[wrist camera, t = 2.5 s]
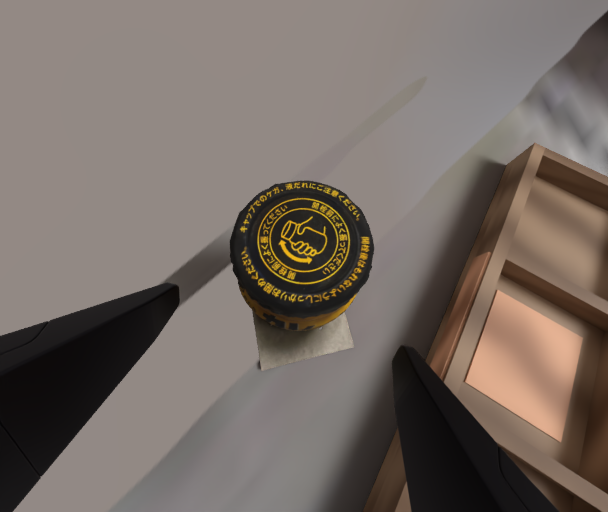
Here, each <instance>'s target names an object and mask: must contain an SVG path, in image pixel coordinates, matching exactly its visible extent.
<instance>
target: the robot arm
mask: <svg viewBox="0 0 608 512" xmlns="http://www.w3.org/2000/svg"><path fill="white" fill-rule="evenodd" d="M179 302H180V298H179V287H178V285H176V284H172V283H164V284H161V285H158V286H155V287H152V288H148V289H145V290H142V291H139V292H136V293H133V294H130V295H127V296H124V297H121V298H118V299H114V300H111V301H108V302H105V303H102V304H99V305H96V306H93V307H90V308H87V309H84V310H80V311H77V312H74V313H71V314H68V315H65V316H62V317H59V318H56V319H53V320H50V321H49V322H48V321H47V322H43V323H40V324H37V325H34V326H31V327H28V328H24V329H21V330H18V331H15V332H12V333H8V334H5V335H2V336H0V512H13V511H14V509H15V508H16V507H17V506H18V505H19V503H20V502H21V501H22V500H23V499H24V497H25V496H26V495H27V494H28V493H29V491H30V490H31V489H32V488H33V487H34V485H35V484H36V483H37V482H38V481H39V479H40V476H42V475H43V474H44V473H45V472H46V471H47V470H48V468H49V467H50V466H51V465H52V464H53V462H54V461H55V460H56V459H57V457H58V456H59V455H60V454H61V453H62V452H63V450H64V449H65V448H66V447H67V446H68V444H69V443H70V442H71V441H72V439H73V438H74V437H75V436H76V435H77V433H78V432H79V431H80V430H81V429H82V427H83V426H84V425H85V424H86V423H87V421H88V420H89V419H90V418H91V417H92V415H93V414H94V413H95V412H96V411H97V409H98V408H99V407H100V406H101V405H102V403H103V402H104V401H105V400H106V399H107V397H108V396H109V395H110V394H111V393H112V391H113V390H114V389H115V387H117V385H118V384H119V383H120V382H121V381H122V379H123V378H124V377H125V376H126V374H127V373H128V372H129V371H130V370H131V368H132V367H133V366H134V365H135V364H136V362H137V361H138V360H139V359H140V358H141V357H142V355H143V354H144V353H145V352H146V350H147V349H148V348H149V347H150V346H151V345H152V343H153V342H154V341H155V339H156V338H157V337H158V335H159V334H160V332H161V331H162V329H163V328H164V326H165V325H166V323H167V322H168V320H169V319H170V318H171V316H172V315H173V313H174V312H175V310H176V309H177V307H178V305H179ZM392 373H393V391H394V405H395V413H396V419H397V425H398V431H399V438H400V444H401V450H402V456H403V463H404V469H405V475H406V481H407V488H408V494H409V500H410V506H411V512H560V511H559V510H558V509H557V508H556V507H555V506H554V505H553V504H552V503H551V502H550V501H549V500H548V499H547V497H546V496H545V495H544V494H543V493H542V492H541V491H540V490H539V489H538V488H537V487H536V486H535V485H534V484H533V483H532V482H531V480H530V479H529V478H528V477H527V476H526V475H525V474H524V473H523V472H522V470H521V469H520V468H519V467H518V466H517V465H516V464H515V463H514V462H513V460H512V459H511V458H510V457H509V456H508V455H507V454H506V452H505V451H504V450H503V449H502V448H501V447H500V446H498V444H497V442H496V441H495V440H494V439H493V438H492V437H491V436H490V434H489V433H488V432H487V431H486V430H485V429H484V428H483V426H482V425H481V424H480V423H479V422H478V421H477V420H476V418H475V417H474V416H473V415H472V414H471V413H470V412H469V410H468V409H467V408H466V407H465V406H464V405H463V404H462V403H461V401H460V400H459V399H458V398H457V397H456V396H455V395H454V393H453V392H452V391H451V390H450V389H449V388H448V387H447V385H446V384H445V383H444V382H443V381H442V380H441V379H440V377H439V376H438V375H437V374H436V373H435V372H434V371H433V370H432V368H431V367H430V366H429V365H428V364H427V363H426V362H425V360H424V359H423V358H422V357H421V356H420V355H419V354H418V352H417V351H416V350H415V349H414V348H413V347H410V346H406V345H401V346H400V347H399V349H398V351H397V353H396V354H395V356H394V358H393V361H392Z"/></svg>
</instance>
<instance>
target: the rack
mask: <svg viewBox="0 0 608 512" xmlns="http://www.w3.org/2000/svg"><path fill="white" fill-rule="evenodd" d="M425 362H426V363H427V364H428V365H429V366H430V367H431V368H432V370H433V371H434V372H435V373H436V374H437V375H438V376H439V377H440V379H441V380H442V381H443V382H444V383H445V384H446V385H447V387H448V388H449V389H450V390H451V391H452V392H453V393H454V395H455V396H456V397H457V398H458V399H459V400H460V401H461V403H462V404H463V405H464V406H465V407H466V408H467V409H468V410H469V412H470V413H471V414H472V415H473V416H474V417H475V418H476V420H477V421H478V422H479V423H480V424H481V425H482V426H483V428H484V429H485V430H486V431H487V432H488V433H489V434H490V436H491V437H492V438H493V439H494V440H495V441H496V442H497V444H498V446H500V447H501V448H502V449H503V450H504V451H505V452H506V454H507V455H508V456H509V457H510V458H511V459H512V460H513V462H514V463H515V464H516V465H517V466H518V467H519V468H520V469H521V470H522V472H523V473H524V474H525V475H526V476H527V477H528V478H529V479H530V480H531V482H532V483H533V484H534V485H535V486H536V487H537V488H538V489H539V490H540V491H541V492H542V493H543V494H544V495H545V496H546V497H547V499H548V500H549V501H550V502H551V503H552V504H553V505H554V506H555V507H556V508H557V509H558V510H559V511H560V512H608V177H607V176H605V175H603V174H600V173H598V172H596V171H594V170H592V169H590V168H588V167H585V166H583V165H581V164H579V163H577V162H575V161H573V160H570V159H568V158H566V157H564V156H562V155H560V154H558V153H555V152H553V151H551V150H549V149H547V148H545V147H543V146H540V145H538V144H536V143H534V144H533V145H532V146H530V147H529V148H528V149H526V150H525V151H524V152H523V153H521V154H520V155H519V156H518V157H516V158H515V159H514V160H512V161H511V162H510V163H509V164H507V166H506V168H505V170H504V173H503V175H502V178H501V180H500V182H499V185H498V187H497V190H496V192H495V195H494V197H493V199H492V202H491V204H490V207H489V209H488V211H487V214H486V216H485V219H484V221H483V223H482V226H481V228H480V231H479V233H478V235H477V238H476V240H475V243H474V245H473V247H472V250H471V252H470V255H469V257H468V259H467V262H466V264H465V267H464V269H463V271H462V274H461V276H460V279H459V281H458V283H457V286H456V288H455V291H454V293H453V296H452V298H451V300H450V303H449V305H448V308H447V310H446V312H445V315H444V317H443V320H442V322H441V324H440V327H439V329H438V332H437V334H436V336H435V339H434V341H433V344H432V346H431V348H430V351H429V353H428V356H427V358H426V360H425ZM363 512H411V506H410V500H409V494H408V488H407V481H406V475H405V469H404V463H403V456H402V450H401V444H400V438H399V431H398V428H397V430H396V433H395V435H394V437H393V440H392V442H391V445H390V447H389V449H388V452H387V454H386V457H385V459H384V461H383V464H382V466H381V469H380V471H379V474H378V476H377V478H376V481H375V483H374V486H373V488H372V490H371V493H370V495H369V498H368V500H367V502H366V505H365V507H364V510H363Z"/></svg>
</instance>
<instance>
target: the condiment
mask: <svg viewBox="0 0 608 512" xmlns="http://www.w3.org/2000/svg"><path fill="white" fill-rule="evenodd" d="M230 252H231V253H230V257H231V262H232V264H233V272H234V274H235V275H236V277H237V279H238V284H239V288H240V291H241V294H242V296H243V297H244V299H245V301H246V303H247V304H248V305H249V307H250V308H251V309H252V311H253V317H254V325H255V330H256V337H257V344H258V350H259V358H260V364H261V370H262V371H263V370H267V369H271V368H274V367H278V366H282V365H286V364H290V363H293V362H297V361H301V360H305V359H309V358H313V357H316V356H321V355H325V354H329V353H332V352H336V351H340V350H345V349H348V348H352V347H354V344H353V341H352V337H351V333H350V330H349V326H348V322H347V319H346V316H345V310H346V309H347V308H348V307H349V305H350V304H351V303H352V302H353V300H354V298H355V296H356V294H357V293H358V292H359V290H360V288H361V287H362V286H363V285H364V284H365V283H366V281H367V280H368V278H369V273H370V270H371V268H372V265H371V264H372V258H373V254H374V253H373V252H374V244H373V239H372V235H371V231H370V228H369V225H368V223H367V221H366V219H365V216H364V214H363V212H362V211H361V209H360V208H359V207H358V206H356V205H355V204H354V203H353V202H352V201H351V200H350V199H349V198H348V196H347V195H346V194H345V193H343V192H342V191H340V190H338V189H336V188H333V187H331V186H328V185H325V184H322V183H318V182H313V181H295V182H287V183H281V184H275V185H273V186H272V187H270V188H269V189H267V190H265V191H262V192H261V193H259V194H258V195H256V196H255V197H254V198H253V200H252V201H250V202H249V203H248V205H247V206H246V207H245V208H244V209H243V210H242V211H241V212H240V213H239V215H238V218H237V220H236V223H235V226H234V229H233V232H232V236H231V239H230ZM320 327H322V329H321V330H320V329H319V328H320Z"/></svg>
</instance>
